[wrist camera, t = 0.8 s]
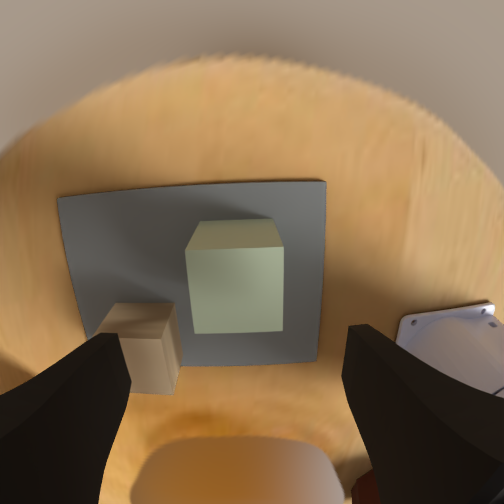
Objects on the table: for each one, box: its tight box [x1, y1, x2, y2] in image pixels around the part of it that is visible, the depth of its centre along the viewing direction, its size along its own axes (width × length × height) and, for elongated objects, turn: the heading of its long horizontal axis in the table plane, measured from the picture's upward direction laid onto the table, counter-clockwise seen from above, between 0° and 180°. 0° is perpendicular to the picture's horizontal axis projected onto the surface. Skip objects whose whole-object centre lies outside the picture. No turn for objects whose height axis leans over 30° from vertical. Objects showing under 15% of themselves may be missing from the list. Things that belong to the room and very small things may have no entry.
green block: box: [185, 219, 284, 334], centre depth 16 cm, size 4×4×5 cm
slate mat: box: [57, 181, 326, 366], centre depth 19 cm, size 16×12×1 cm
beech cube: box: [92, 303, 183, 395], centre depth 18 cm, size 4×4×4 cm
